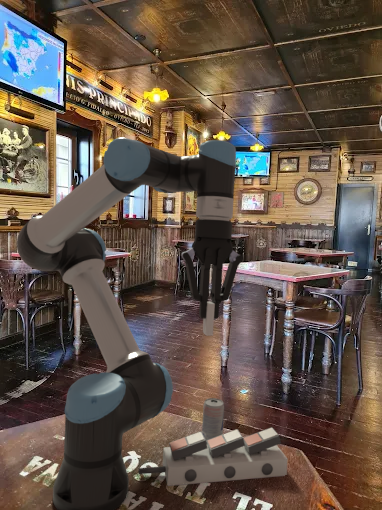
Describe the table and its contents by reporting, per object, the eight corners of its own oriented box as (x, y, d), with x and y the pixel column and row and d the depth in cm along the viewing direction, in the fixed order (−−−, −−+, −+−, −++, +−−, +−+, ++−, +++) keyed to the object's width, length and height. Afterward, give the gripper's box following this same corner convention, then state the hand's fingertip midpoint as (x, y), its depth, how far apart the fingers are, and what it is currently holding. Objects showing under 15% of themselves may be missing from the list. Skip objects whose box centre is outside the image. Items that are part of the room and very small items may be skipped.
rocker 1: (173, 460, 83) (171, 451, 82) (170, 450, 87) (168, 442, 86) (207, 448, 84) (205, 439, 84) (203, 438, 88) (201, 430, 88)
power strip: (139, 489, 79) (141, 466, 79) (137, 465, 87) (138, 444, 87) (287, 476, 86) (288, 455, 86) (272, 455, 94) (273, 436, 94)
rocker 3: (249, 455, 86) (247, 446, 86) (243, 445, 90) (242, 437, 90) (280, 443, 88) (279, 435, 88) (273, 434, 92) (271, 426, 92)
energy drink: (221, 442, 99) (224, 398, 99) (221, 454, 94) (224, 407, 93) (201, 440, 100) (204, 396, 99) (200, 452, 94) (203, 405, 94)
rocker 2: (212, 458, 85) (210, 449, 84) (208, 448, 88) (206, 439, 88) (245, 445, 86) (242, 437, 86) (239, 436, 90) (237, 428, 90)
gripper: (186, 216, 71) (180, 338, 72) (250, 220, 74) (243, 338, 74) (179, 218, 78) (173, 329, 79) (238, 222, 81) (231, 329, 82)
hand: (207, 333), depth 77 cm, fingers closed
